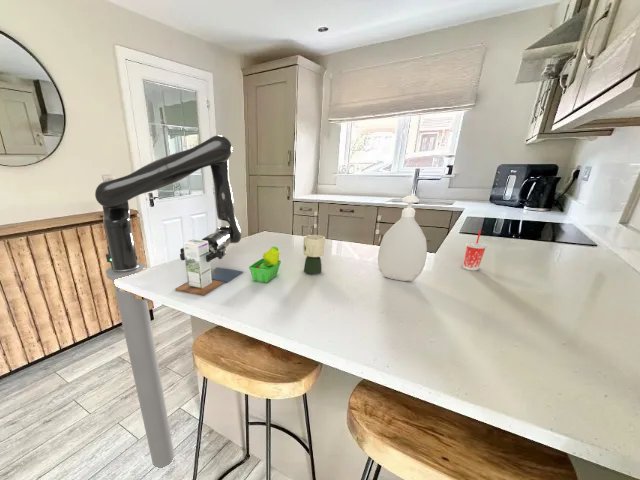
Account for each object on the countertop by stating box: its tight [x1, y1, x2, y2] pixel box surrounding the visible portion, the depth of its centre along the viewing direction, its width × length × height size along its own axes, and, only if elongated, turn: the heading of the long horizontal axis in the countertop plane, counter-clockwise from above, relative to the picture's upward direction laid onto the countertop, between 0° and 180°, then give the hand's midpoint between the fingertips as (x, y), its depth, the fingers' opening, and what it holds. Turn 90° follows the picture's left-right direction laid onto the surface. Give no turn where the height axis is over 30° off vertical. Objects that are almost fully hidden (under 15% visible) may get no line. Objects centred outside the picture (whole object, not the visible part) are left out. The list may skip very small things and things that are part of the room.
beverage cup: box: [462, 229, 488, 271], centre depth 108 cm, size 6×6×14 cm
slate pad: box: [211, 267, 243, 284], centre depth 110 cm, size 11×11×1 cm
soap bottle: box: [377, 194, 428, 282], centre depth 99 cm, size 14×8×27 cm, turn 53°
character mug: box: [303, 234, 326, 275], centre depth 108 cm, size 11×7×13 cm, turn 159°
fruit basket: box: [248, 246, 282, 283], centre depth 105 cm, size 11×9×11 cm
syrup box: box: [182, 239, 212, 288], centre depth 98 cm, size 6×6×14 cm
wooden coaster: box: [175, 280, 224, 296], centre depth 100 cm, size 11×11×1 cm
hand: (194, 258), depth 95 cm, fingers open, 8 cm apart
